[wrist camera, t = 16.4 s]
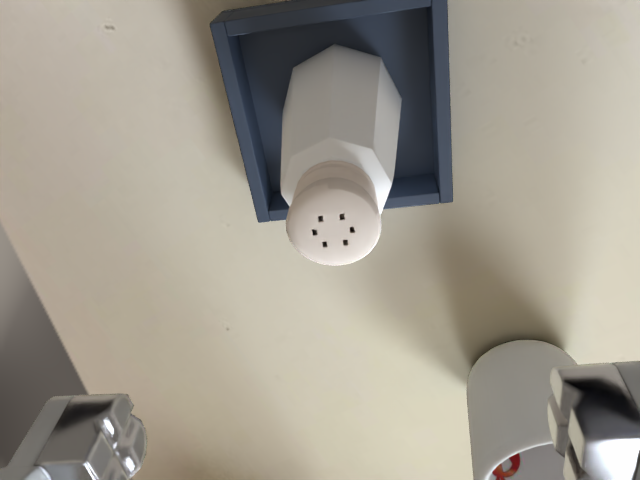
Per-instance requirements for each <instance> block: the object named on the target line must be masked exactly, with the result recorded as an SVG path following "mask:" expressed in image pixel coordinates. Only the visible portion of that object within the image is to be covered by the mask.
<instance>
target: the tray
mask: <svg viewBox="0 0 640 480" xmlns="http://www.w3.org/2000/svg"><path fill="white" fill-rule="evenodd" d="M210 28H211V32H212V36H213V40H214V44H215V48H216V52H217V56H218V60H219V65H220V69H221V73H222V77H223V81H224V85H225V89H226V93H227V97H228V101H229V105H230V109H231V113H232V118H233V122H234V126H235V130H236V134H237V138H238V142H239V146H240V150H241V154H242V158H243V162H244V166H245V170H246V175H247V179H248V183H249V187H250V191H251V195H252V199H253V203H254V207H255V211H256V215H257V219H258V222H259V223H260V222H269V221H270V220H271V221H278V220H286V218H287V214H288V211H289V205H288V204H287V202H286V201H285V199H284V198H283V196H282V195H281V186H280V180H281V148H282V117H283V108H284V104H285V100H286V96H287V92H288V87H289V83H290V79H291V75H292V71H293V68H294V67H295V66H297V65H299V64H300V63H302V62H304V61H306V60H307V59H309V58H311V57H313V56H314V55H316V54H318V53H320V52H321V51H323V50H325V49H326V48H328V47H330V46H332V45H333V44H337V45H340V46H344V47H347V48H351V49H354V50H357V51H361V52H364V53H368V54H371V55H375V56H378V57H381V59H382V60H383V62H384V64H385V66H386V68H387V70H388V72H389V74H390V76H391V78H392V80H393V82H394V84H395V86H396V88H397V90H398V92H399V94H400V96H401V98H402V102H401V112H400V122H399V132H398V142H397V151H396V161H395V171H394V177H393V182H392V186H391V189H390V192H389V194H388V197H387V199H386V202H385V205H384V207H383V209H392V208H401V207H411V206H420V205H430V204H439V203H449V202H453V184H452V149H451V114H450V79H449V44H448V9H447V0H291V1H285V2H278V3H272V4H266V5H259V6H253V7H246V8H240V9H233V10H227V11H222V12H221V13H220V14H219V15H218V16H217V17H216V18H215V19H214V20H213V21H212V22H211V23H210Z"/></svg>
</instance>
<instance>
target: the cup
mask: <svg viewBox="0 0 640 480" xmlns="http://www.w3.org/2000/svg"><path fill="white" fill-rule="evenodd" d="M570 365H577V363H576V362H575V361H574V360H573V359H572V358H571V357H570V356H569V355H568V354H567V353H566V352H564V351H563V350H562V349H560V348H558V347H556V346H554V345H552V344H549V343H546V342H543V341H537V340H517V341H511V342H507V343H504V344H501V345H499V346H497V347H494V348H492V349H491V350H489V351H488V352H486V353H485V354H484V355H482V356H481V357H480V358H479V359H478V360H477V362H476V363H475V364H474V366H473V367H472V369H471V372H470V374H469V377H468V382H467V407H468V419H469V431H470V443H471V455H472V467H473V478H474V480H565V478H564V475H563V469H564V460H565V458H564V457H562V456H561V455H560V454H559V453H558V452H556V451H555V448H554V445H553V441H552V438H551V434H550V430H549V425H548V415H547V406H548V398H549V397H550V396H551V395H552V394H553V390H552V387H551V384H550V382H549V381H550V373H551V370H552V368H553V367H556V366H570Z"/></svg>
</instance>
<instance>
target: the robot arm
mask: <svg viewBox="0 0 640 480" xmlns="http://www.w3.org/2000/svg"><path fill="white" fill-rule="evenodd" d="M549 382H550V384H551V387H552V390H553V394H552V395H551V396H550V397H549V398H548V406H547V415H548V425H549V430H550V434H551V438H552V441H553V445H554V448H555V451H556V452H558V453H559V454H560V455H561V456H562V457H564V458H565V460H564V469H563V475H564V478H565V480H640V361H630V362H615V363H597V364H584V365H570V366H556V367H553V368H552V370H551V373H550V381H549ZM133 406H134V405H133V403H132V401H131V399H130V398H129V396H128V394H96V395H76V396H54V397H52V398H51V399H49V400H48V401H47V402H46V403H45V404H44V406H43V408H42V409H41V411H40V413H39V415H38V416H37V418H36V419H35V421H34V423H33V424H32V426H31V428H30V429H29V431H28V433H27V434H26V436H25V438H24V439H23V441H22V443H21V444H20V446H19V447H18V449H17V451H16V453H15V454H14V456H13V457H12V459H11V461H10V462H9V464H8V466H7V467H1V468H0V480H130V478H131V477H132V476H133V475H134V474H135V473H136V472H137V471H138V470H139V469H140V468H141V467H142V464H143V461H144V458H145V455H146V447H147V436H146V430H145V427H144V425H143V423H142V421H141V420H140V419H138V418H137V417H135V416H134V415H132V414H131V411H132V409H133Z"/></svg>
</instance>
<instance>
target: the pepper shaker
mask: <svg viewBox="0 0 640 480" xmlns="http://www.w3.org/2000/svg"><path fill="white" fill-rule="evenodd" d="M401 102H402V98H401V96H400V94H399V92H398V90H397V88H396V86H395V84H394V82H393V80H392V78H391V76H390V74H389V72H388V70H387V68H386V66H385V64H384V62H383V60H382V59H381V57H378V56H375V55H371V54H368V53H364V52H361V51H357V50H354V49H351V48H347V47H344V46H340V45H337V44H333V45H332V46H330V47H328V48H326V49H325V50H323V51H321V52H320V53H318V54H316V55H314V56H313V57H311V58H309V59H307V60H306V61H304V62H302V63H300V64H299V65H297V66H295V67H294V68H293V71H292V75H291V79H290V83H289V87H288V92H287V96H286V100H285V104H284V108H283V117H282V148H281V180H280V186H281V195H282V196H283V198H284V199H285V201H286V202H287V204H288V205H289V211H288V214H287V218H286V231H287V234H288V237H289V240H290V242H291V243H292V244H293V246H294V247H295V249H296V250H297V251H298V252H300V253H301V254H302V255H303V256H304V257H306V258H308V259H310V260H312V261H314V262H316V263H320V264H324V265H335V266H340V265H345V264H350V263H353V262H355V261H357V260H360V259H362V258H363V257H364V256H366V255H367V254H368V253H370V252H371V250H372V249H373V248H374V246H375V245H376V244H377V242H378V239H379V237H380V234H381V224H382V222H381V217H380V215H381V213H382V210H383V207H384V205H385V202H386V199H387V197H388V194H389V192H390V189H391V186H392V182H393V177H394V171H395V161H396V151H397V142H398V132H399V122H400V112H401Z"/></svg>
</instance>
